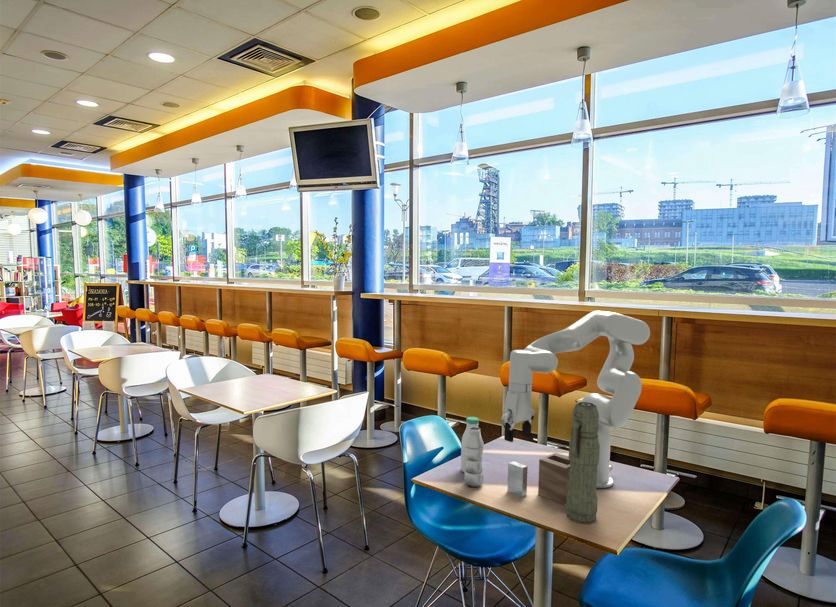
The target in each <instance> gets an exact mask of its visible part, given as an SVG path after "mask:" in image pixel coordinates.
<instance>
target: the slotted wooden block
mask: <svg viewBox="0 0 836 607" xmlns="http://www.w3.org/2000/svg"><path fill="white" fill-rule="evenodd" d="M538 460H539V463H538V482H537V483H538V489H537V490H538V491H537V494H538V496H541V497H544V498H547V499H550V500H551V501H555V502H556V503H559V504H562V505H567V493H568V490H569V477H570V460H569V455H565V454H563V453H562V454H561V453H558V452H554V453H551V454H549V455H546V456H544V457H542V458H539V459H538Z"/></svg>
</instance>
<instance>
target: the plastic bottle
mask: <svg viewBox="0 0 836 607" xmlns="http://www.w3.org/2000/svg"><path fill="white" fill-rule="evenodd" d="M469 434H470V435H469V437H468V438H467V439H466V441H465V449H466V471H465V473H464V475H463V479H464V483H465V484H466V485H467V486H469V487H480V486H482V485H483V482H484V472H483V454H484V447H485V444H484V442H485V441H483V437H482V436H481V437H480V435H481V428H480V427H479V426H478V427H471V428H470V432H469Z"/></svg>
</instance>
